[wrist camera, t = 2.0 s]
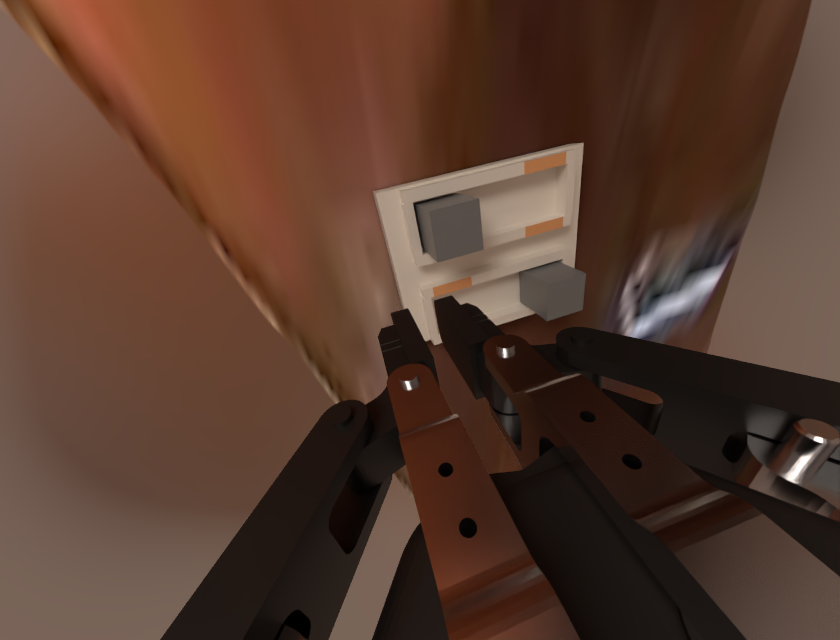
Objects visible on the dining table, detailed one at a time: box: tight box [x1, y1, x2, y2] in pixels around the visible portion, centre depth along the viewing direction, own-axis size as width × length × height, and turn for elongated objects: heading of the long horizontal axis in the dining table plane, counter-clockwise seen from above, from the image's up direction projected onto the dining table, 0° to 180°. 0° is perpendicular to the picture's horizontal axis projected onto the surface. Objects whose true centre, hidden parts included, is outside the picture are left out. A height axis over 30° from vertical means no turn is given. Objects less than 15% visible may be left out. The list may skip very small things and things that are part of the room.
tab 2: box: [519, 261, 586, 321], centre depth 31 cm, size 4×4×5 cm
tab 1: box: [413, 193, 484, 262], centre depth 25 cm, size 4×4×5 cm
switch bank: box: [373, 143, 584, 345], centre depth 30 cm, size 16×20×4 cm
